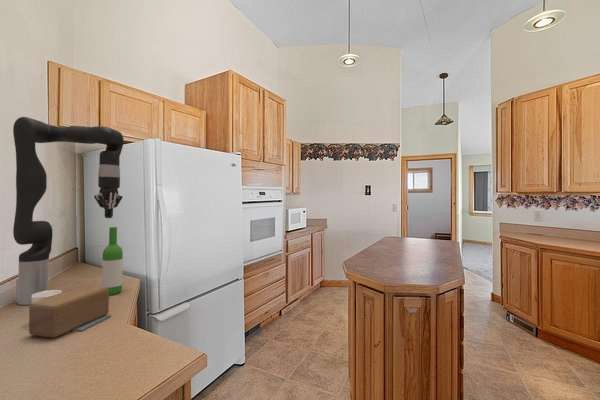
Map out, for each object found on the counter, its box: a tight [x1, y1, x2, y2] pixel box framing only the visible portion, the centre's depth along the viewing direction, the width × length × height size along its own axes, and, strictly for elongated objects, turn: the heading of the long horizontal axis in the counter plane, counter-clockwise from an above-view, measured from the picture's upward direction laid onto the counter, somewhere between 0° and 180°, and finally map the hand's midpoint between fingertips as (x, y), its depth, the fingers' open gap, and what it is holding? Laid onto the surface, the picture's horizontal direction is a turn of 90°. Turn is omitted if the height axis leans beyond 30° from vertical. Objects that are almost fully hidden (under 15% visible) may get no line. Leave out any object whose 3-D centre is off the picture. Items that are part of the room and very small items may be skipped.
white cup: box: [31, 289, 62, 303], centre depth 99 cm, size 8×8×10 cm
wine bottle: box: [101, 226, 124, 296], centre depth 131 cm, size 8×8×30 cm
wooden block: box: [28, 285, 110, 338], centre depth 97 cm, size 10×10×20 cm
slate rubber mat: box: [69, 314, 112, 333], centre depth 99 cm, size 12×12×1 cm
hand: (108, 217), depth 120 cm, fingers closed
